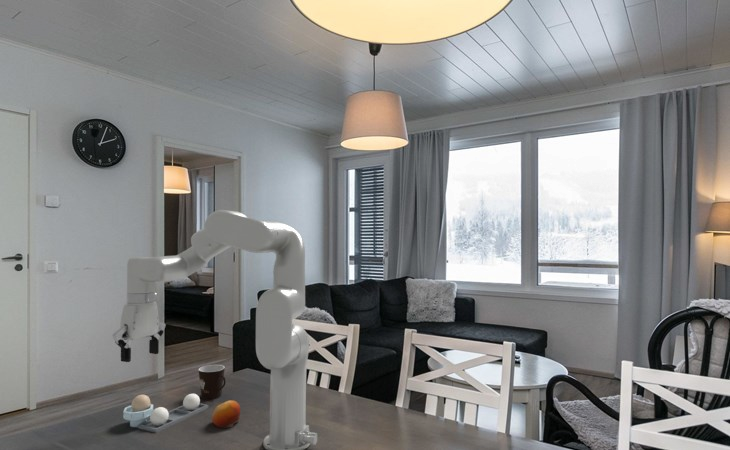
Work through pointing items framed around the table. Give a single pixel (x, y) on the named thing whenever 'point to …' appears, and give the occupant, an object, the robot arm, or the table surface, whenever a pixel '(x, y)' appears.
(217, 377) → the coffee mug
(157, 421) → the white egg
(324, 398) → the table surface
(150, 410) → the egg cup
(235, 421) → the fruit
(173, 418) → the egg tray
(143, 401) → the egg brown
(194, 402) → the white egg
